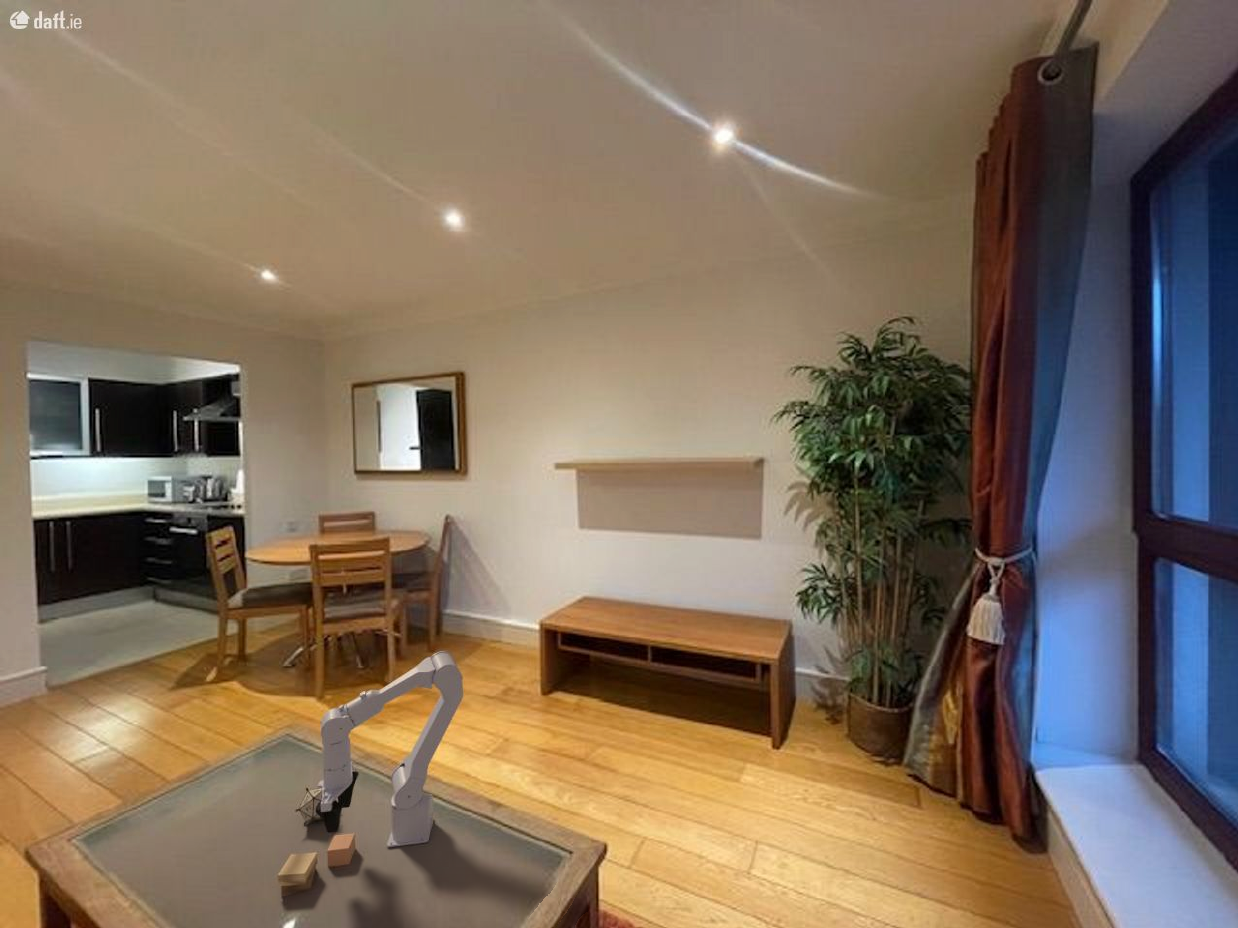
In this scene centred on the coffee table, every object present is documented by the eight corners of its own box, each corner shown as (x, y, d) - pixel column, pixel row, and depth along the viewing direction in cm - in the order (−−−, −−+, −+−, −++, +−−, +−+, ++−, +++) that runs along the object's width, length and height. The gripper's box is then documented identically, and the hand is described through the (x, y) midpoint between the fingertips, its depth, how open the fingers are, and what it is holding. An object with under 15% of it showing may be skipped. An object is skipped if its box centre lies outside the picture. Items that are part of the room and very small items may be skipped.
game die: (319, 836, 131) (312, 824, 125) (292, 820, 133) (284, 807, 126) (346, 800, 138) (340, 786, 132) (320, 785, 140) (313, 771, 133)
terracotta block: (355, 848, 123) (354, 832, 123) (349, 864, 119) (348, 847, 119) (335, 851, 122) (334, 835, 122) (327, 867, 118) (327, 850, 118)
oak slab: (317, 862, 117) (317, 852, 117) (305, 883, 111) (304, 872, 111) (291, 864, 116) (291, 854, 116) (278, 886, 111) (277, 875, 111)
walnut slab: (316, 870, 118) (315, 860, 117) (311, 890, 112) (310, 879, 112) (287, 877, 116) (287, 867, 115) (281, 898, 111) (281, 887, 110)
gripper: (330, 745, 126) (332, 798, 127) (304, 785, 111) (307, 845, 112) (361, 742, 127) (363, 795, 128) (339, 782, 113) (342, 841, 114)
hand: (339, 818), depth 120 cm, fingers open, 7 cm apart
